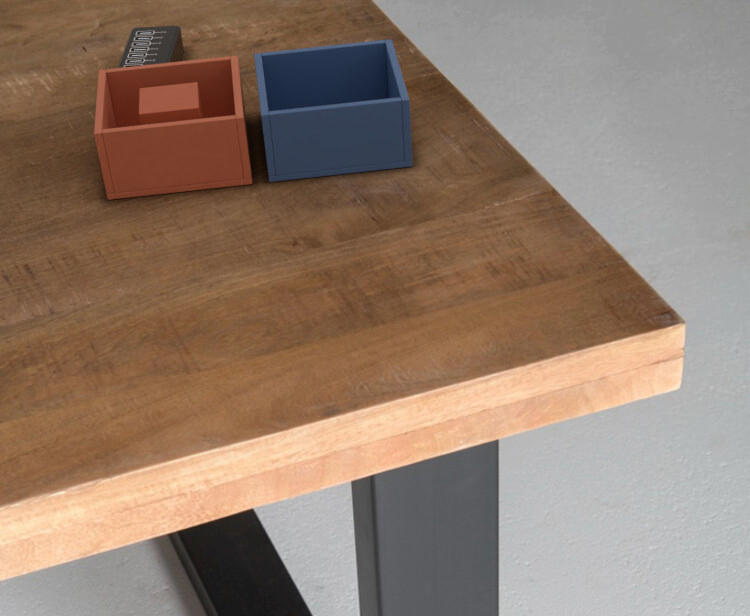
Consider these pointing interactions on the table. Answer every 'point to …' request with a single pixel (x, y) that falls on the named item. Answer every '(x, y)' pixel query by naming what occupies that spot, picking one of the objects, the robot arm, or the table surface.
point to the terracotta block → (169, 103)
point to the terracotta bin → (172, 131)
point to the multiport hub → (152, 46)
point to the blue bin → (333, 110)
